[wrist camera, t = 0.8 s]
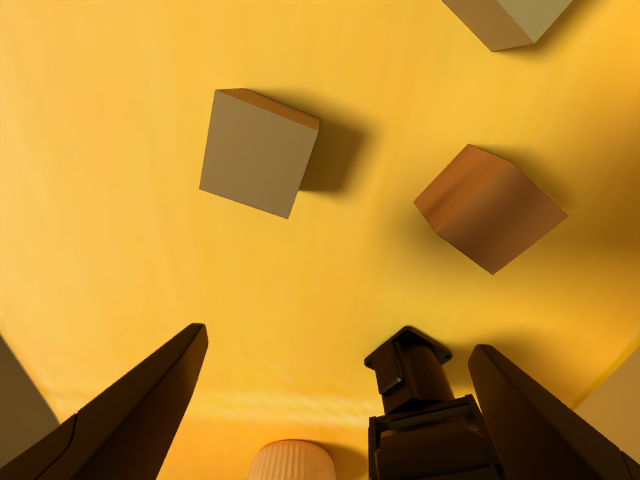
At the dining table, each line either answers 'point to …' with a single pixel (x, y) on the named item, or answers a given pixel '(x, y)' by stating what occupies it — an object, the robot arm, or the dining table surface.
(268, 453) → the ramekin
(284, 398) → the dining table surface
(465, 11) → the base block
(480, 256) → the walnut block
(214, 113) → the brown block
